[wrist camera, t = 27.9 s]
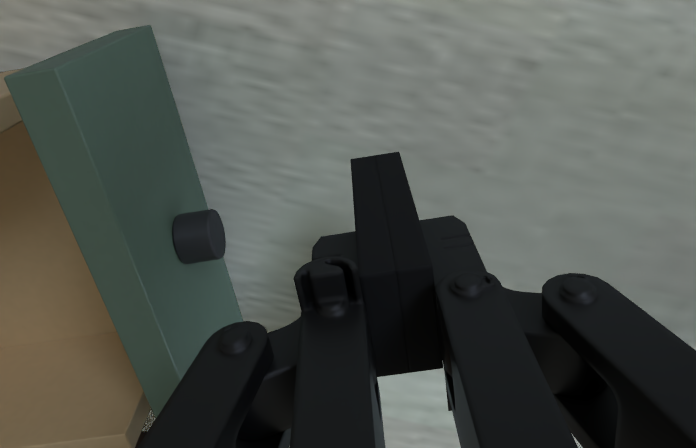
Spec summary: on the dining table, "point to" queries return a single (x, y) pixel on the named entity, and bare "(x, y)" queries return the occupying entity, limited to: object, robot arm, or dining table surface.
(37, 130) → the drawer
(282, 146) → the dining table surface
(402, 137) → the dining table surface
